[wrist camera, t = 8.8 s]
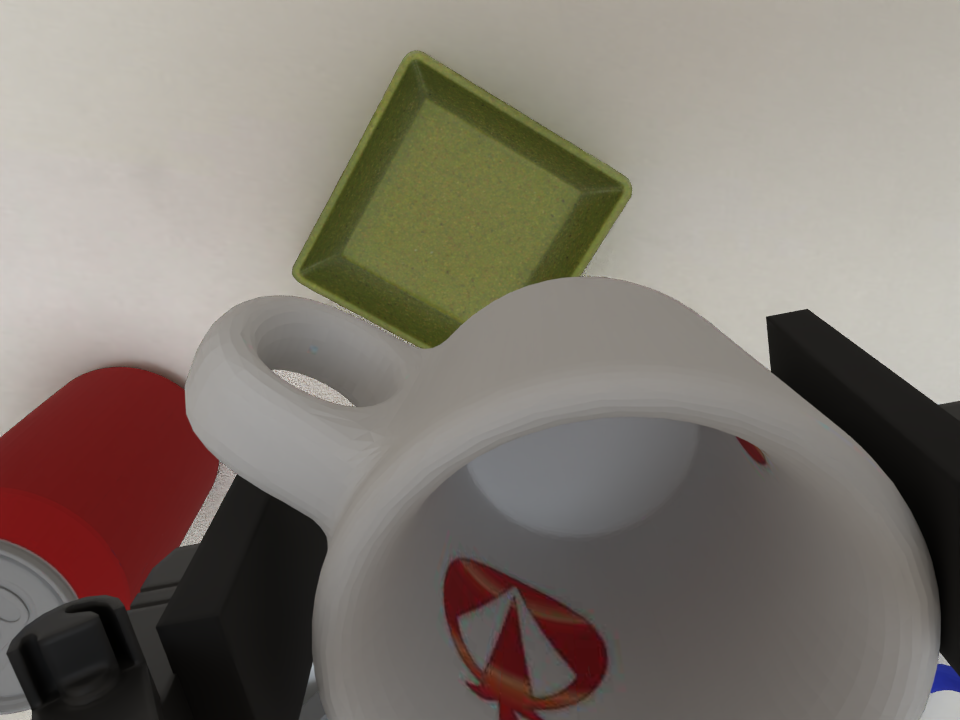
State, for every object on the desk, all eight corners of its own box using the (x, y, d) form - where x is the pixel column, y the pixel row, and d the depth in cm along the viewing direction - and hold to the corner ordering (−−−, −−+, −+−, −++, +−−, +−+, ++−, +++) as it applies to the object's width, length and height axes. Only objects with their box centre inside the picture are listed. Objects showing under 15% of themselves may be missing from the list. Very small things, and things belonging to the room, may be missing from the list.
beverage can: (13, 438, 34) (-212, 630, 23) (125, 322, 33) (-55, 466, 21) (149, 547, 36) (4, 777, 24) (261, 442, 34) (162, 634, 23)
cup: (206, 423, 19) (7, 681, 11) (366, 79, 16) (246, 116, 9) (637, 629, 20) (714, 977, 13) (845, 344, 18) (1093, 569, 10)
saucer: (414, 44, 30) (410, 43, 28) (628, 176, 31) (639, 184, 29) (297, 263, 32) (286, 277, 30) (502, 375, 34) (505, 395, 32)
